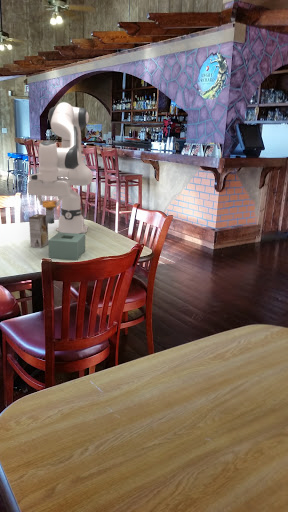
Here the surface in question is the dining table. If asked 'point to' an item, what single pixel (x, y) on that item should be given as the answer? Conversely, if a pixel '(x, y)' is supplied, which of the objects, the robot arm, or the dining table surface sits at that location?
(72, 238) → the block
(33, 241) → the coffee box
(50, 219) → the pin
